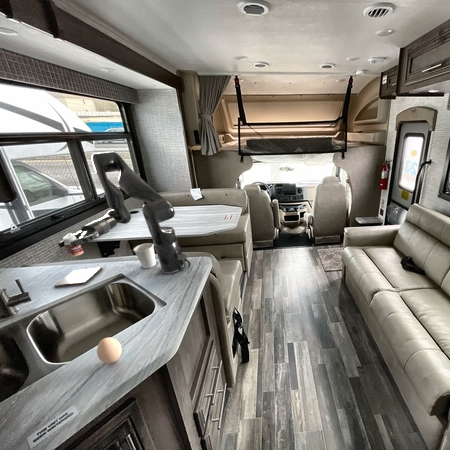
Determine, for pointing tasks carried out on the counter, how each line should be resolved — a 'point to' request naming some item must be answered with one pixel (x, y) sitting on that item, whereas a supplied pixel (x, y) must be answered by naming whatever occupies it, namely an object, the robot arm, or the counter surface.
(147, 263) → the dixie cup
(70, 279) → the mat
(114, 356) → the egg
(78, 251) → the pill bottle
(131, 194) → the robot arm
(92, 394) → the counter surface
